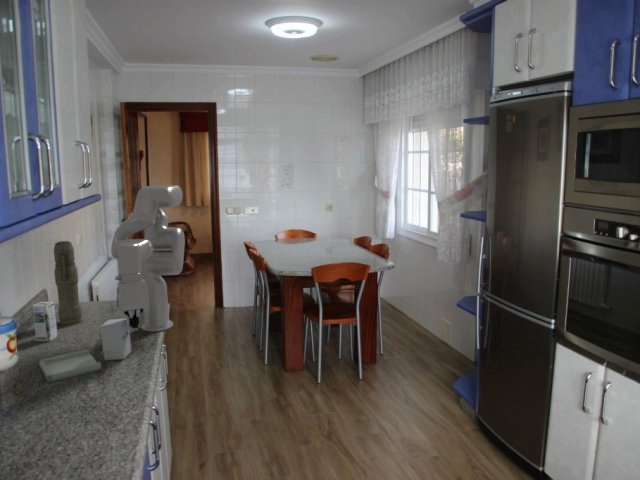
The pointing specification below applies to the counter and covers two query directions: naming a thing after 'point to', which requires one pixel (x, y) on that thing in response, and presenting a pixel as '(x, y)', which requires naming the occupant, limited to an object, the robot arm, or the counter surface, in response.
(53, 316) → the syrup box
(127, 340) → the supplement box
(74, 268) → the stone figurine
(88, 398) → the counter surface
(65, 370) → the tray
